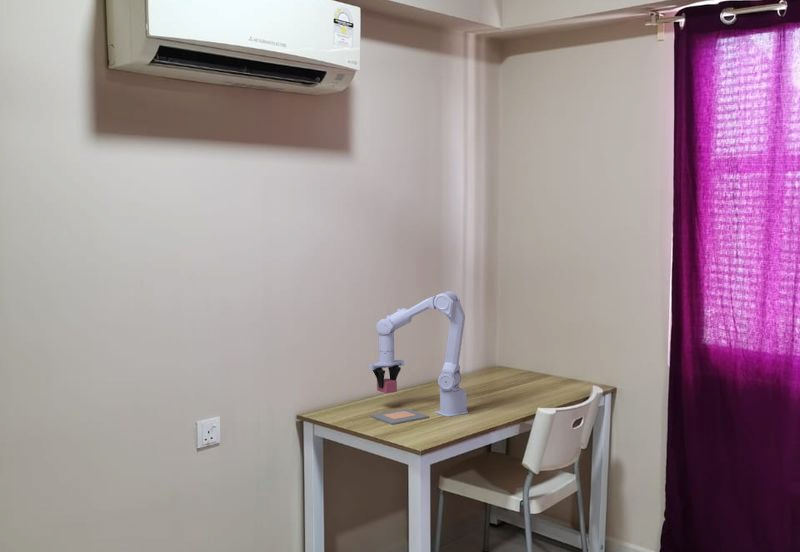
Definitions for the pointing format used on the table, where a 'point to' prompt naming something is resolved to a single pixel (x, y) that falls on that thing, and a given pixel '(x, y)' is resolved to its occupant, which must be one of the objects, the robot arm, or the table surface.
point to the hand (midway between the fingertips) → (386, 386)
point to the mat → (399, 416)
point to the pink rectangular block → (388, 386)
